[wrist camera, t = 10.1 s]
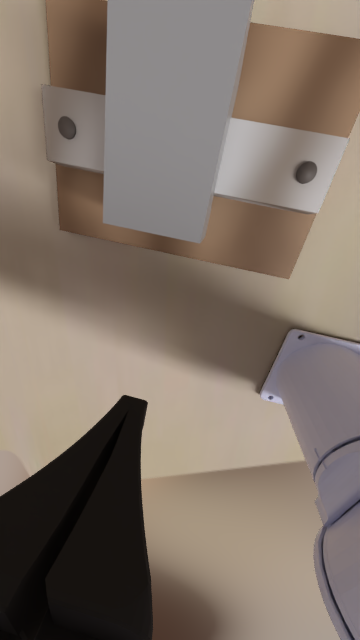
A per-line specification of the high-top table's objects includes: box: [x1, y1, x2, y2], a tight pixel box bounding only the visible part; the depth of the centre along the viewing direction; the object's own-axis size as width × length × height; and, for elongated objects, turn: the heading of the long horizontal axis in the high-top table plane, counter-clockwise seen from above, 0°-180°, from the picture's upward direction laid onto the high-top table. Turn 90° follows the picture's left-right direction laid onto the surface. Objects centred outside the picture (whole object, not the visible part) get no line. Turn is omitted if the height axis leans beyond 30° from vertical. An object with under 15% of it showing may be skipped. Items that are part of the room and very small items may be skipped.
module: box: [103, 0, 254, 243], centre depth 10 cm, size 4×8×6 cm, turn 169°
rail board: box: [41, 0, 360, 279], centre depth 13 cm, size 18×12×3 cm, turn 79°
